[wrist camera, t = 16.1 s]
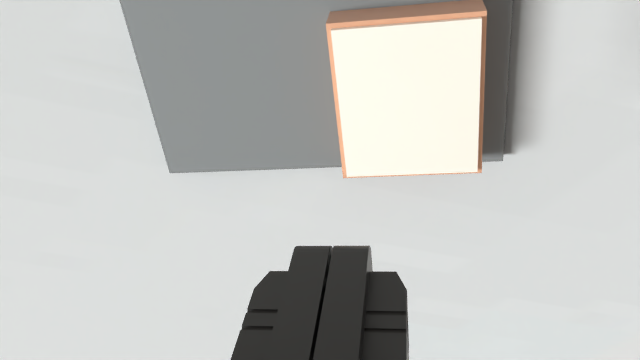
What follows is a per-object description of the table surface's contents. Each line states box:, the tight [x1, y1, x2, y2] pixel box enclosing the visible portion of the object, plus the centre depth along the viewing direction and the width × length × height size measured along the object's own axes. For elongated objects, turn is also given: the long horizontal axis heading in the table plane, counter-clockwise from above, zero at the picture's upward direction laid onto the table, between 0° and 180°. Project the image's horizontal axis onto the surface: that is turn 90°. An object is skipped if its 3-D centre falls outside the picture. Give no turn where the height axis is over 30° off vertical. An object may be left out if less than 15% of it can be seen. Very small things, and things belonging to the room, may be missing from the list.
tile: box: [326, 0, 487, 178], centre depth 24 cm, size 2×6×7 cm
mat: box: [120, 0, 513, 173], centre depth 25 cm, size 16×12×1 cm
